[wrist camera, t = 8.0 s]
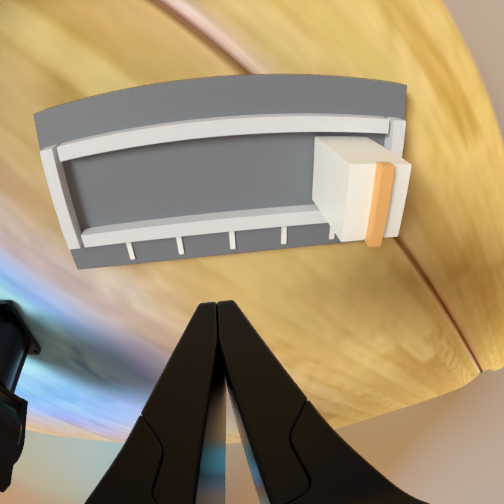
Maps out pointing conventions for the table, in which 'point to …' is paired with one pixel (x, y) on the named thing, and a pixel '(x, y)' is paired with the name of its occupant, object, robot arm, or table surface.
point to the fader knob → (359, 187)
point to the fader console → (204, 163)
